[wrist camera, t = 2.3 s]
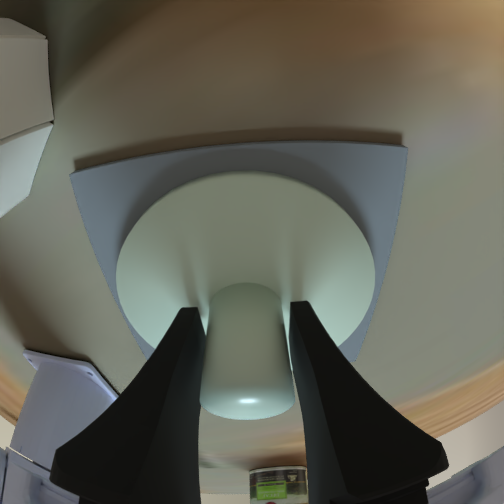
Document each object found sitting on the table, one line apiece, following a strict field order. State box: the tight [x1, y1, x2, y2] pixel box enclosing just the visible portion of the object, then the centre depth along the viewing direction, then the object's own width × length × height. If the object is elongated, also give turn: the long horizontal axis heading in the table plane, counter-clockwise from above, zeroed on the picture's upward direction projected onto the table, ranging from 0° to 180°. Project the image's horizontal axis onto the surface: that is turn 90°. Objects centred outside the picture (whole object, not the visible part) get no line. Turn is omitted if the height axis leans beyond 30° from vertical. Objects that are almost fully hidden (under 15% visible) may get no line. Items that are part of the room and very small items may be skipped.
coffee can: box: [249, 466, 308, 504], centre depth 30 cm, size 10×10×14 cm
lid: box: [116, 170, 375, 420], centre depth 9 cm, size 10×10×5 cm
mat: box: [69, 140, 408, 362], centre depth 11 cm, size 12×12×1 cm
